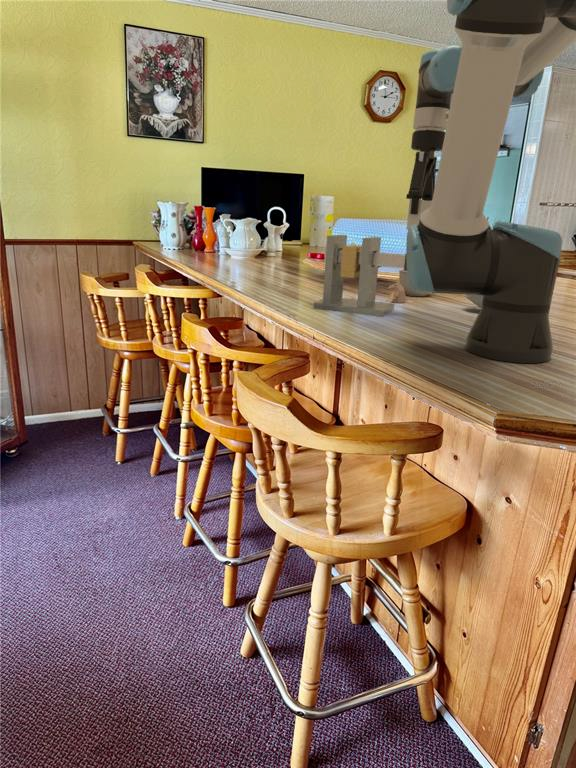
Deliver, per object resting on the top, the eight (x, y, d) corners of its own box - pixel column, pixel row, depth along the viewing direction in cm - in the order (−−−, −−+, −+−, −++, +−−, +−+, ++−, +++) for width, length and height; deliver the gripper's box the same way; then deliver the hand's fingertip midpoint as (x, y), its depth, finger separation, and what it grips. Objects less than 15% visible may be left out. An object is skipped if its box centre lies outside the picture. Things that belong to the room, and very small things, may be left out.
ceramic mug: (488, 319, 142) (511, 299, 138) (464, 302, 141) (486, 281, 136) (487, 299, 150) (508, 280, 145) (465, 283, 149) (485, 263, 144)
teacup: (426, 299, 160) (430, 272, 158) (391, 295, 165) (394, 268, 163) (439, 294, 172) (442, 268, 169) (406, 290, 177) (409, 265, 174)
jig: (382, 316, 131) (390, 240, 125) (313, 308, 137) (318, 235, 132) (393, 309, 141) (401, 238, 136) (329, 301, 148) (333, 234, 142)
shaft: (420, 271, 128) (422, 254, 127) (323, 263, 137) (324, 247, 136) (423, 270, 132) (425, 253, 131) (328, 262, 141) (329, 246, 140)
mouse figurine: (417, 304, 151) (419, 280, 149) (388, 303, 151) (391, 279, 149) (412, 301, 156) (415, 278, 154) (385, 300, 156) (387, 276, 154)
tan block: (353, 278, 134) (356, 247, 131) (340, 276, 135) (342, 246, 132) (362, 275, 140) (364, 245, 138) (349, 273, 141) (351, 244, 139)
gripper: (438, 122, 109) (425, 231, 116) (454, 137, 131) (442, 228, 138) (401, 123, 112) (390, 229, 119) (422, 137, 134) (412, 226, 140)
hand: (418, 229), depth 128 cm, fingers open, 13 cm apart
